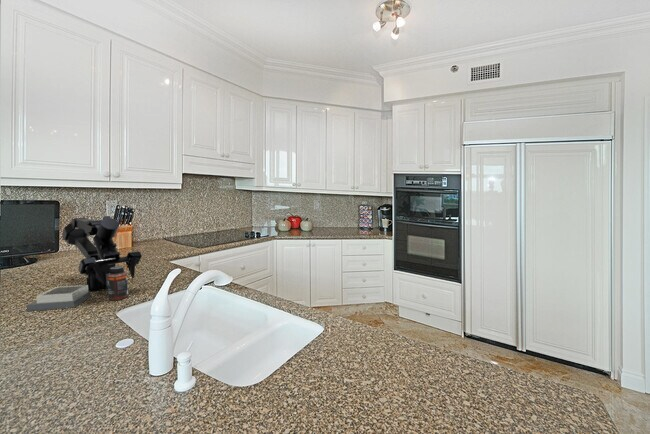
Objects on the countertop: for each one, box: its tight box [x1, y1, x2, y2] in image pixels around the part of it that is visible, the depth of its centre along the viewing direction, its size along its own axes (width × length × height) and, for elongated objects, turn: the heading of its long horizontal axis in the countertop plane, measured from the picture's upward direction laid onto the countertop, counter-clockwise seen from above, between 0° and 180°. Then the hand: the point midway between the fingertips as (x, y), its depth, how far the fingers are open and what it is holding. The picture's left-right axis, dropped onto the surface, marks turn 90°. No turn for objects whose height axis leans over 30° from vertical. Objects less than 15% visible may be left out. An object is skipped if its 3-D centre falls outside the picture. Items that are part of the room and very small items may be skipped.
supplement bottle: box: [107, 265, 129, 301], centre depth 109 cm, size 6×6×11 cm
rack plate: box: [26, 284, 92, 312], centre depth 104 cm, size 13×11×4 cm
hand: (119, 280), depth 108 cm, fingers open, 9 cm apart
